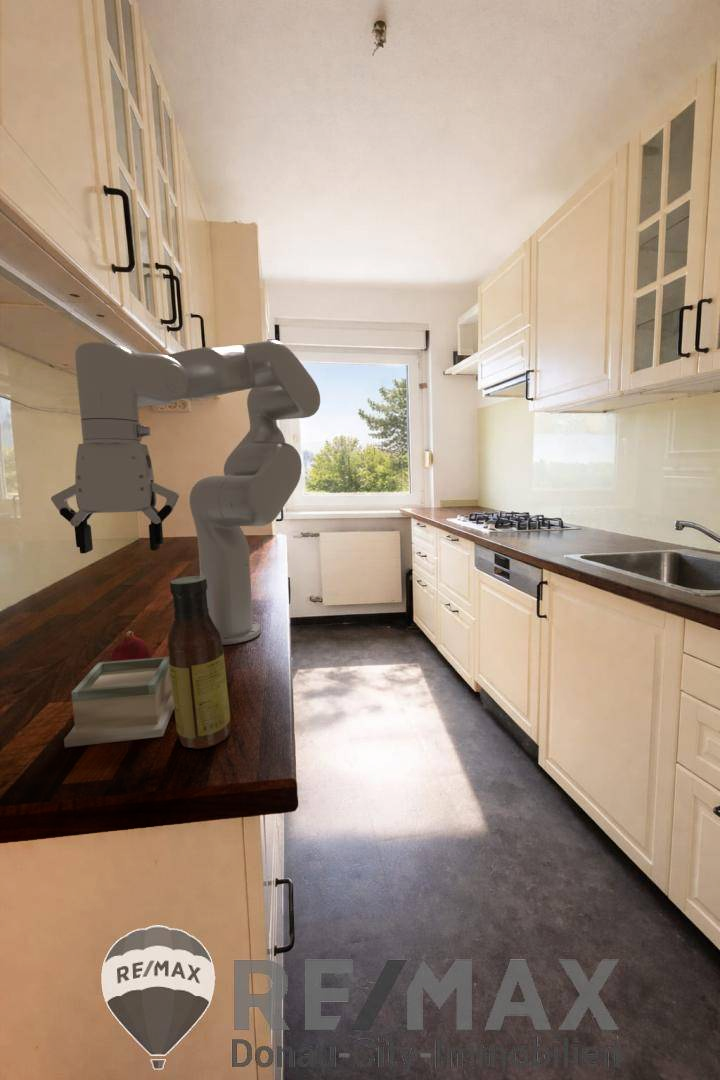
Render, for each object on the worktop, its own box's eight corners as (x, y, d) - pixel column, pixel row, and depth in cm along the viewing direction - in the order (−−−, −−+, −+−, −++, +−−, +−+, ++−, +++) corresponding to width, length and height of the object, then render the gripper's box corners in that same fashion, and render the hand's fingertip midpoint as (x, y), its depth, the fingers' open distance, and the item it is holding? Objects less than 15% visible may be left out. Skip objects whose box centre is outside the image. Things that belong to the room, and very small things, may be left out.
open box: (99, 700, 68) (95, 659, 67) (180, 693, 70) (177, 652, 69) (64, 747, 57) (59, 698, 56) (162, 736, 59) (158, 688, 58)
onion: (155, 683, 74) (151, 634, 72) (114, 692, 71) (109, 641, 70) (151, 670, 79) (147, 623, 77) (112, 678, 76) (107, 630, 75)
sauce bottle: (236, 723, 61) (227, 572, 59) (224, 751, 55) (213, 584, 52) (184, 725, 61) (173, 573, 58) (166, 753, 55) (153, 585, 52)
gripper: (178, 436, 75) (186, 544, 77) (57, 436, 71) (68, 549, 74) (169, 432, 67) (177, 552, 70) (33, 432, 64) (46, 557, 66)
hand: (121, 550), depth 72 cm, fingers open, 9 cm apart
